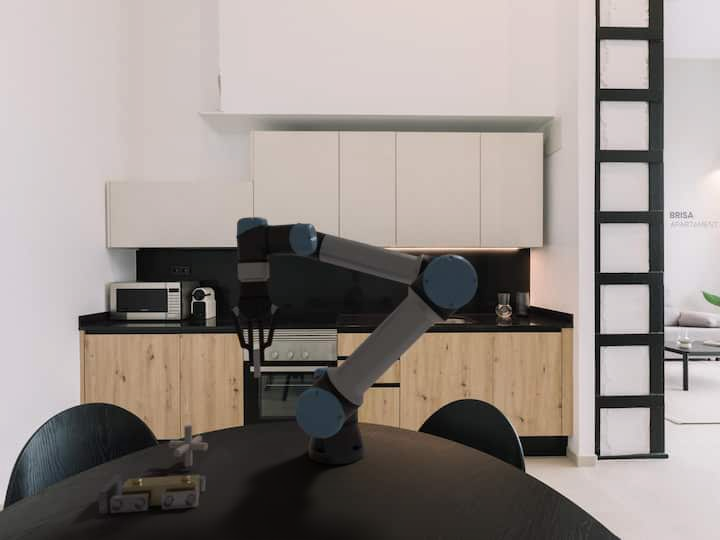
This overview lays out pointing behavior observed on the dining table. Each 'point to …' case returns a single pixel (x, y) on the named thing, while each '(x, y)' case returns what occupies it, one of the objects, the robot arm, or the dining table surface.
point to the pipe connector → (188, 445)
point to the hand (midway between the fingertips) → (257, 376)
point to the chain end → (182, 497)
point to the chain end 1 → (120, 498)
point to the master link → (160, 486)
